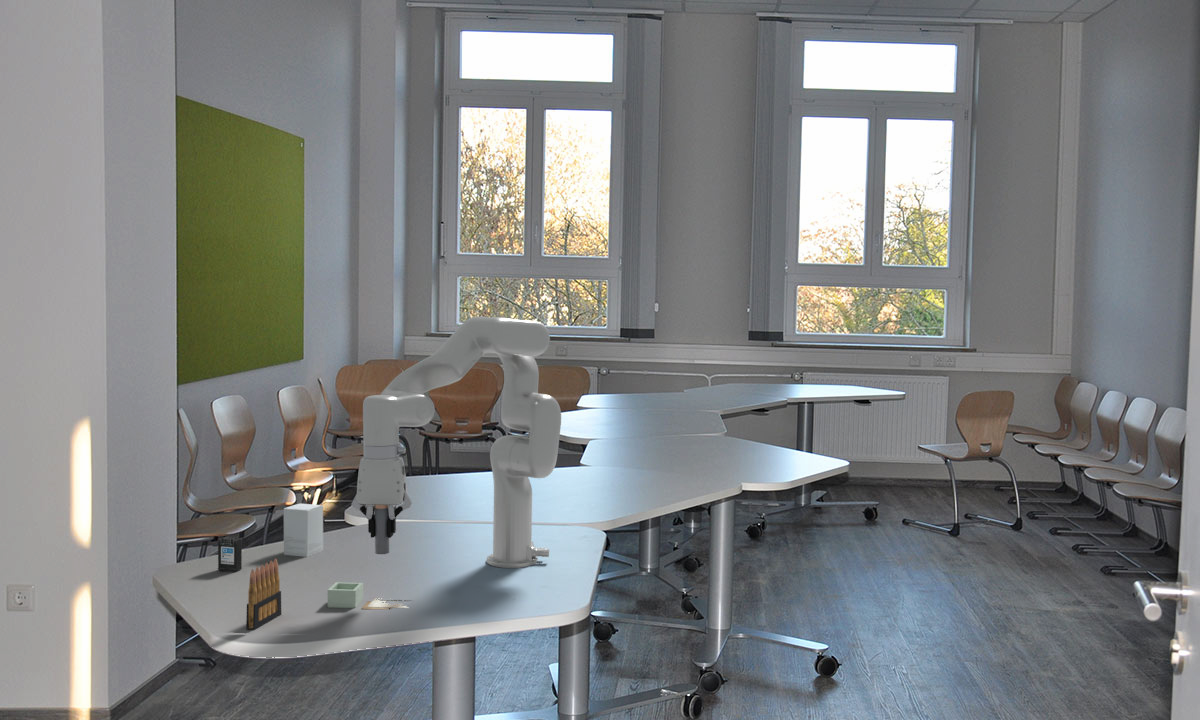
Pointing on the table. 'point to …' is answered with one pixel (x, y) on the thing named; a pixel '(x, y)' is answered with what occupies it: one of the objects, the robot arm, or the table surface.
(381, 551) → the marker
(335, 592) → the green open box
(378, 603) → the writing board
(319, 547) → the supplement box
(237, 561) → the ink cartridge
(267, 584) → the ammunition clip
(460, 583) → the table surface
